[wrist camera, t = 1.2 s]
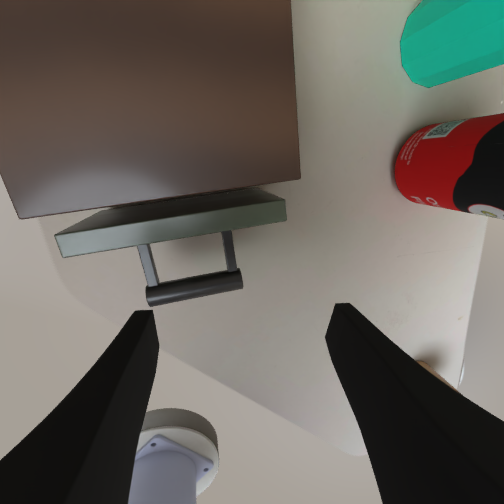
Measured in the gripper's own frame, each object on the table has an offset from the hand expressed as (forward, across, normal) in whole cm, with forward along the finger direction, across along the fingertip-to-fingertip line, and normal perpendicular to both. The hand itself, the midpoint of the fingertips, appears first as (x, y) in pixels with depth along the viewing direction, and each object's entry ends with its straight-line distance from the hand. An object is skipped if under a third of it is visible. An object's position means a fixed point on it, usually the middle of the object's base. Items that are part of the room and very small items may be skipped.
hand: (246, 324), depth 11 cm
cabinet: (+14, +5, -7) cm, 17 cm away
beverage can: (+15, -16, -3) cm, 22 cm away
